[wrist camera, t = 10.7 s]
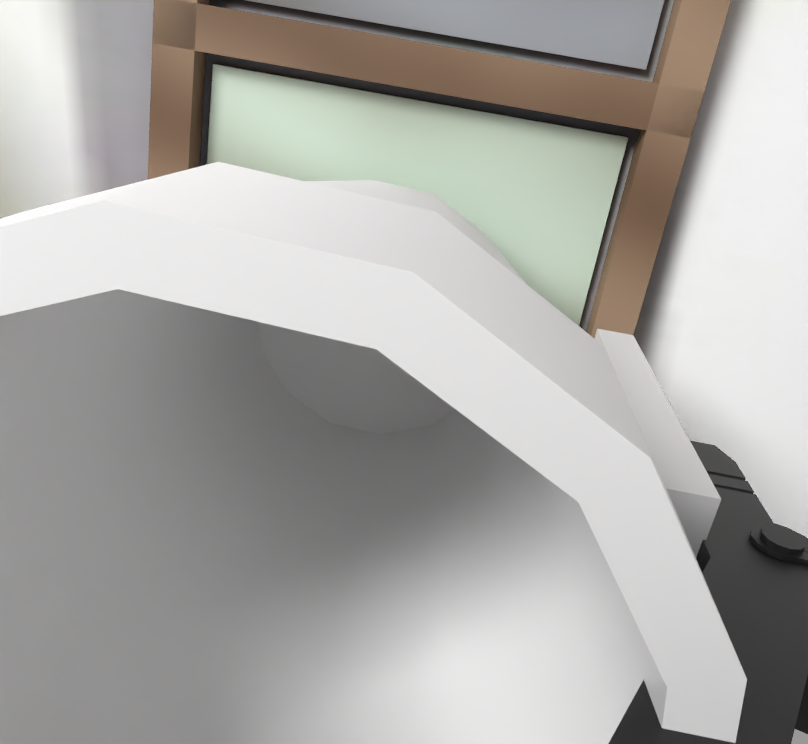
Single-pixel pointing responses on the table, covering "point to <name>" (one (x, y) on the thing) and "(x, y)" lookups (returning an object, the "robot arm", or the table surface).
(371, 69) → the walnut frame
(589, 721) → the foam cup
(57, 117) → the table surface
